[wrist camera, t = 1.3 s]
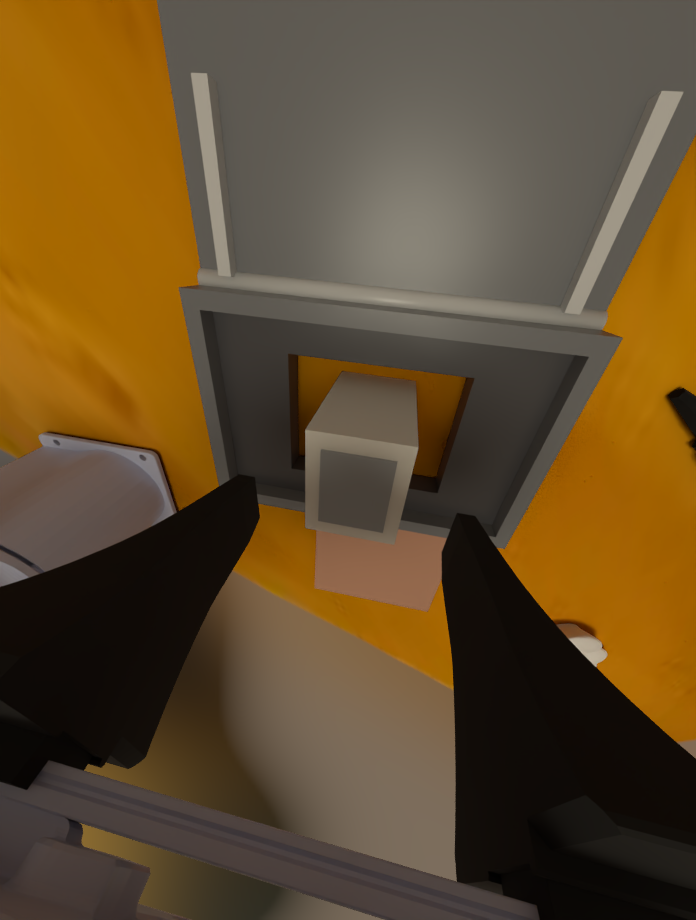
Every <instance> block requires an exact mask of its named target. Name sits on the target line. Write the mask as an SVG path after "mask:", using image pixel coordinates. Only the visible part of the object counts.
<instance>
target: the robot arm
mask: <svg viewBox="0 0 696 920" xmlns="http://www.w3.org/2000/svg"><path fill="white" fill-rule="evenodd" d="M39 440H40V441H41V443H42V445H43V447H41V448H39V449H37V450H35V451H33V452H31V453H29V454H27V455H25V456H23V457H21V458H19V459H17V460H15V461H13V462H11V463H9V464H7V465H5V466H3V467H1V468H0V920H191V919H187V918H184V917H181V916H177V915H174V914H170V913H167V912H164V911H161V910H158V909H154V908H151V907H148V906H144V905H141V904H138V902H139V899H140V897H141V894H142V892H143V890H144V887H145V885H146V883H147V880H148V878H149V876H150V868H149V867H146V866H143V865H140V864H138V863H135V862H132V861H129V860H126V859H123V858H120V857H117V856H114V855H111V854H107V853H104V852H101V851H97V850H93V849H90V848H86V847H84V846H83V845H82V843H81V839H82V835H83V828H82V825H81V824H80V823H82V824H85V825H88V826H91V827H95V828H98V829H101V830H104V831H107V832H111V833H113V834H117V835H120V836H123V837H126V838H129V839H132V840H135V841H139V842H142V843H145V844H148V845H151V846H155V847H157V848H161V849H164V850H167V851H170V852H173V853H176V854H180V855H183V856H186V857H189V858H192V859H196V860H198V861H202V862H205V863H208V864H211V865H214V866H217V867H221V868H224V869H227V870H230V871H234V872H236V873H240V874H243V875H246V876H249V877H252V878H255V879H258V880H262V881H265V882H268V883H271V884H274V885H278V886H280V887H283V888H287V889H290V890H293V891H296V892H300V893H302V894H306V895H309V896H312V897H315V898H318V899H321V900H324V901H328V902H331V903H334V904H337V905H340V906H343V907H347V908H350V909H353V910H356V911H359V912H362V913H365V914H369V915H372V916H375V917H378V918H381V919H385V920H696V759H695V758H694V757H693V756H692V755H691V754H690V753H688V752H687V751H686V750H685V749H684V748H682V747H681V746H680V745H679V744H678V743H677V742H675V741H674V740H673V739H672V738H671V737H670V736H669V735H667V734H666V733H665V732H664V731H663V730H662V729H661V728H660V727H659V726H657V725H656V724H655V723H654V722H653V721H652V720H651V719H650V718H649V717H648V716H646V715H645V714H644V713H643V712H642V711H641V710H640V709H639V708H638V707H637V706H636V705H634V704H633V703H632V702H631V701H630V700H629V699H628V698H627V697H626V696H625V695H624V694H623V693H622V692H621V691H620V690H619V689H617V688H616V687H615V686H614V685H613V684H612V683H611V682H610V681H609V680H608V679H607V678H606V677H605V676H604V675H603V674H602V673H601V672H600V671H599V670H598V669H597V668H596V667H595V666H594V665H593V664H592V663H591V662H590V661H589V660H588V659H587V658H586V657H585V656H584V655H583V654H582V653H581V652H580V650H579V649H578V648H577V647H576V646H575V645H574V644H573V643H572V642H571V641H570V640H569V639H568V638H567V637H566V635H565V634H564V633H563V632H562V631H561V630H560V629H559V628H558V626H557V625H556V624H555V623H554V622H553V621H552V620H551V619H550V618H549V616H548V615H547V614H546V613H545V612H544V610H543V609H542V608H541V607H540V606H539V604H538V603H537V602H536V601H535V599H534V598H533V597H532V596H531V594H530V593H529V592H528V591H527V589H526V588H525V587H524V586H523V584H522V583H521V582H520V580H519V579H518V578H517V576H516V575H515V573H514V572H513V571H512V569H511V568H510V566H509V565H508V564H507V562H506V561H505V559H504V558H503V557H502V555H501V554H500V552H499V551H498V549H497V548H496V546H495V545H494V543H493V542H492V540H491V539H490V537H489V536H488V534H487V533H486V531H485V530H484V528H483V527H482V525H481V524H480V522H479V521H478V519H477V518H476V516H472V515H467V514H461V513H457V514H456V516H455V519H454V521H453V524H452V527H451V529H450V532H449V534H448V537H447V540H446V542H445V545H444V547H443V550H442V586H443V593H444V601H445V608H446V615H447V623H448V630H449V637H450V644H451V653H452V663H453V684H454V710H455V754H456V756H455V757H456V758H455V759H456V813H455V816H456V817H455V819H456V821H455V827H456V828H455V862H456V875H457V882H456V881H453V880H449V879H446V878H443V877H439V876H436V875H432V874H429V873H426V872H422V871H419V870H416V869H412V868H409V867H405V866H402V865H399V864H396V863H392V862H389V861H385V860H382V859H379V858H375V857H372V856H369V855H365V854H362V853H358V852H355V851H352V850H349V849H345V848H342V847H338V846H335V845H332V844H328V843H325V842H321V841H318V840H315V839H312V838H308V837H305V836H301V835H298V834H295V833H291V832H288V831H284V830H281V829H278V828H275V827H271V826H268V825H264V824H261V823H258V822H254V821H251V820H248V819H244V818H241V817H238V816H234V815H231V814H228V813H224V812H221V811H218V810H214V809H211V808H207V807H204V806H201V805H197V804H194V803H191V802H187V801H183V800H181V799H177V798H174V797H171V796H167V795H164V794H160V793H157V792H153V791H150V790H147V789H144V788H140V787H137V786H133V785H130V784H127V783H123V782H120V781H117V780H113V779H110V778H106V777H103V776H100V775H96V774H93V773H90V772H87V771H84V769H85V768H86V766H87V765H88V764H90V765H94V766H98V767H102V766H103V765H104V764H105V763H106V762H107V763H110V764H113V765H117V766H120V767H124V768H127V769H129V768H131V767H133V766H135V765H136V764H138V763H139V762H140V761H142V760H143V759H144V758H145V757H146V755H147V752H148V749H149V747H150V744H151V741H152V739H153V736H154V734H155V731H156V729H157V726H158V724H159V721H160V719H161V716H162V714H163V711H164V709H165V706H166V704H167V701H168V699H169V697H170V694H171V692H172V690H173V687H174V685H175V683H176V680H177V678H178V676H179V673H180V671H181V669H182V666H183V664H184V662H185V660H186V658H187V655H188V653H189V651H190V649H191V646H192V644H193V642H194V640H195V638H196V636H197V634H198V632H199V630H200V627H201V625H202V623H203V621H204V619H205V617H206V615H207V613H208V611H209V609H210V607H211V605H212V603H213V602H214V600H215V598H216V596H217V594H218V593H219V591H220V589H221V588H222V586H223V585H224V583H225V581H226V580H227V578H228V576H229V574H230V573H231V571H232V570H233V568H234V567H235V565H236V563H237V562H238V560H239V558H240V557H241V555H242V553H243V552H244V550H245V548H246V546H247V545H248V543H249V541H250V539H251V537H252V535H253V532H254V530H255V528H256V525H257V523H258V521H259V518H260V515H259V507H258V498H257V490H256V481H255V477H252V476H247V475H241V474H239V475H237V476H235V477H234V478H232V479H230V480H229V481H227V482H225V483H224V484H222V485H221V486H219V487H218V488H216V489H214V490H213V491H211V492H210V493H208V494H207V495H205V496H203V497H202V498H200V499H198V500H197V501H195V502H194V503H192V504H190V505H189V506H187V507H185V508H184V509H182V510H180V511H178V512H176V509H175V506H174V502H173V499H172V496H171V493H170V490H169V487H168V484H167V481H166V478H165V475H164V472H163V469H162V466H161V463H160V460H159V457H158V455H157V454H156V453H155V452H153V451H150V450H145V449H139V448H133V447H127V446H121V445H116V444H110V443H104V442H98V441H93V440H87V439H81V438H75V437H69V436H64V435H58V434H52V433H42V434H40V435H39ZM150 526H151V527H150Z"/></svg>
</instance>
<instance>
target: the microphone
mask: <svg viewBox="0 0 696 920" xmlns="http://www.w3.org/2000/svg"><path fill="white" fill-rule="evenodd" d="M668 396H669V398H670V400H671V401H672V403H673V404H674V406H675V407H676V409H677V410H678V412H679V413H680V415H681V416H682V418H683V419H684V421H685V422H686V424H687V425H688V427H689V428H690V430H691V431H692V432H693V433H694V435H695V436H696V396H695V395H693V394H692V393H690V392H689V391H687V390H686V389H684V388H682V389H678V390H675V391H673V392H672V393H671V394H669V395H668ZM692 447H693V448H694V449H695V450H696V440H695V442H694V444H693V446H692Z"/></svg>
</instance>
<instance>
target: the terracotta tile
mask: <svg viewBox="0 0 696 920" xmlns="http://www.w3.org/2000/svg"><path fill="white" fill-rule="evenodd" d="M446 540H447V538H443V537H438V536H432V535H427V534H421V533H416V532H410V531H405V530H400V529H398V532H397V536H396V540H395V544H394V545H392V544H386V543H381V542H376V541H371V540H365V539H360V538H355V537H350V536H344V535H339V534H334V533H328V532H323V531H318V530H317V531H316V563H315V588H317V589H322V590H327V591H331V592H336V593H341V594H346V595H351V596H355V597H360V598H365V599H370V600H375V601H379V602H384V603H389V604H394V605H398V606H403V607H408V608H413V609H418V610H422V611H427V612H428V610H429V607H430V605H431V602H432V600H433V598H434V595H435V593H436V590H437V588H438V586H439V583H440V581H441V578H442V550H443V547H444V545H445V542H446Z"/></svg>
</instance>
